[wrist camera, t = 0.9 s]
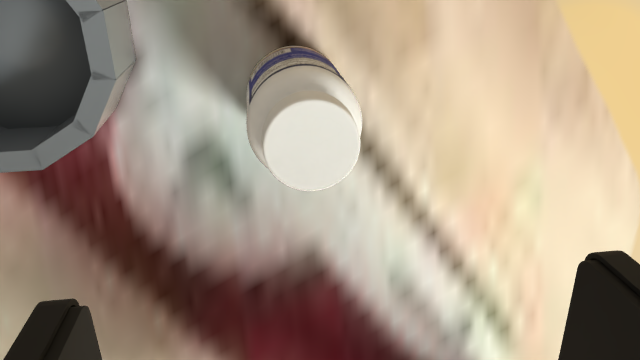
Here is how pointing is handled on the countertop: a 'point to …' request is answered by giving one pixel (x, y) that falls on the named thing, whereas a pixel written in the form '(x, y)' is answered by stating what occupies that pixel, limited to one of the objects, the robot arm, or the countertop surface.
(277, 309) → the countertop surface
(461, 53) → the countertop surface
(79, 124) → the grey faceted bowl
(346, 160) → the pill bottle
